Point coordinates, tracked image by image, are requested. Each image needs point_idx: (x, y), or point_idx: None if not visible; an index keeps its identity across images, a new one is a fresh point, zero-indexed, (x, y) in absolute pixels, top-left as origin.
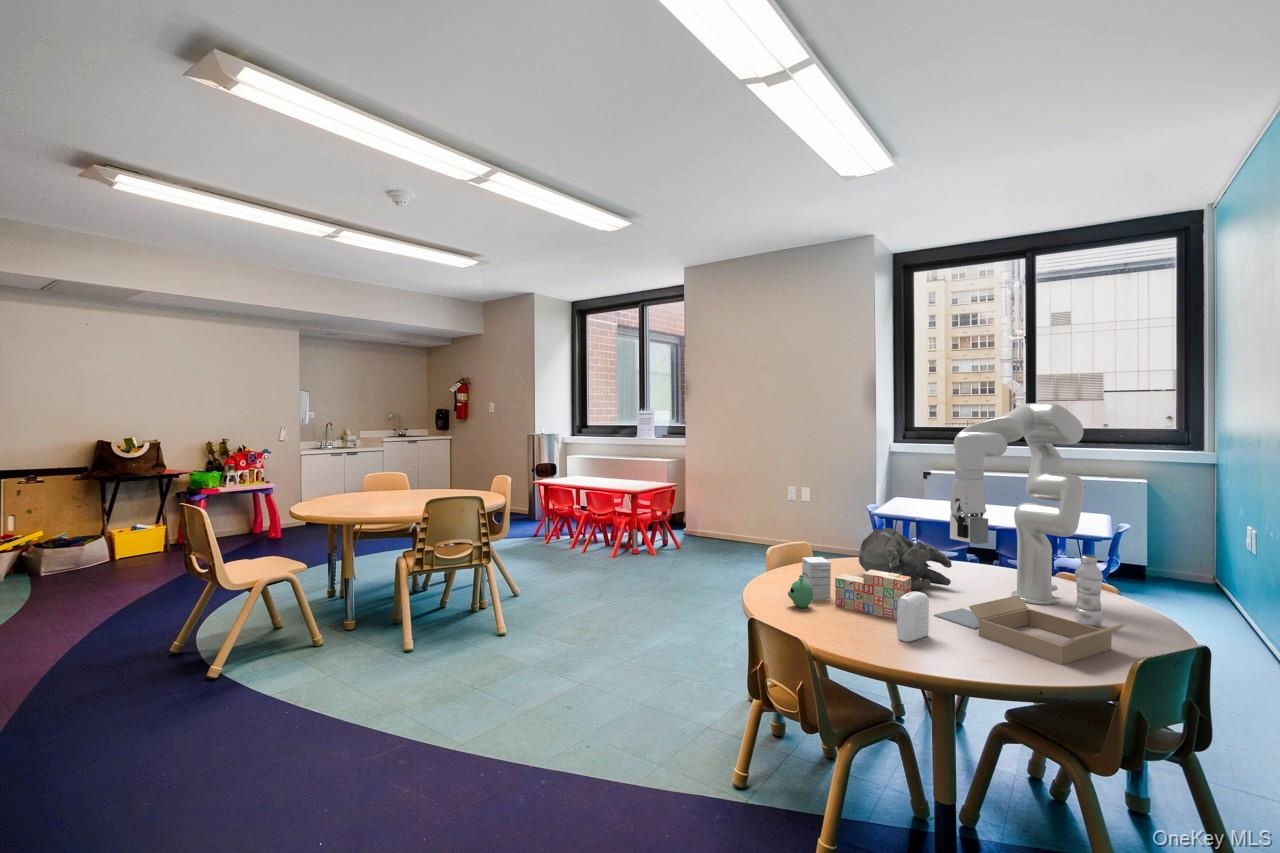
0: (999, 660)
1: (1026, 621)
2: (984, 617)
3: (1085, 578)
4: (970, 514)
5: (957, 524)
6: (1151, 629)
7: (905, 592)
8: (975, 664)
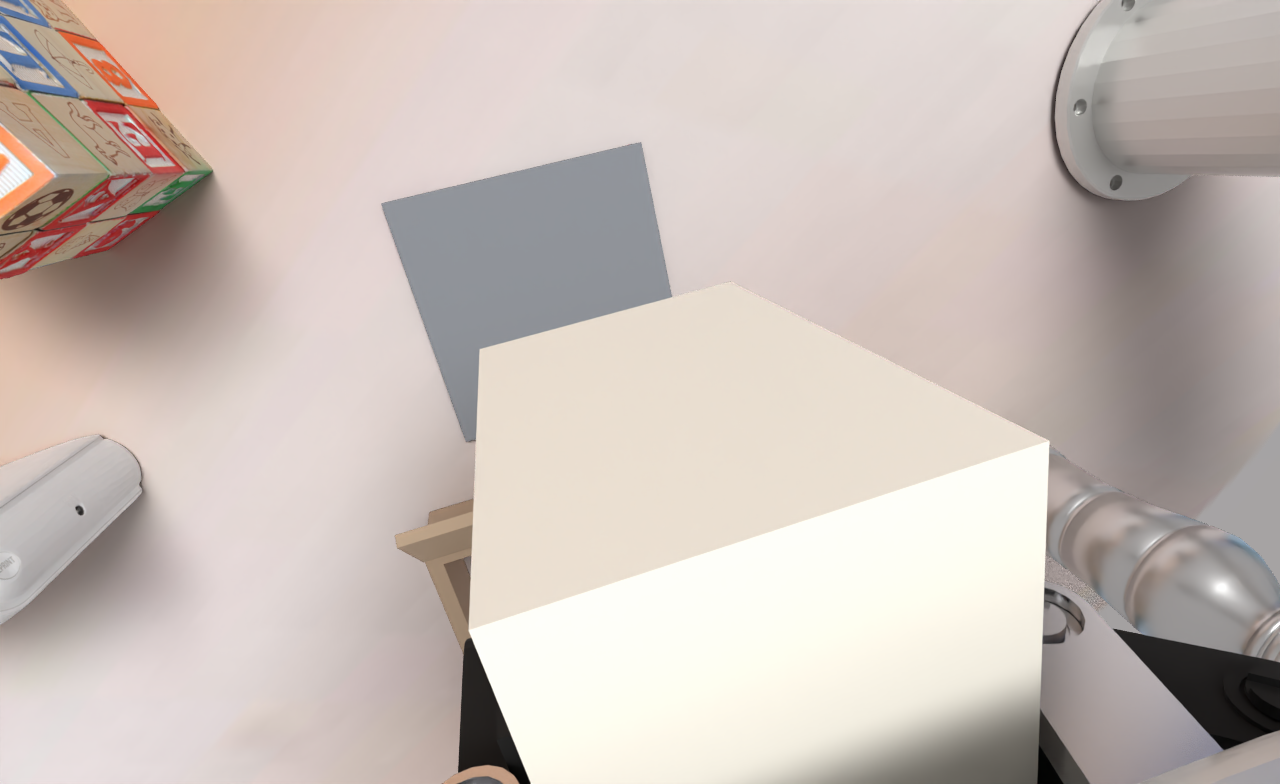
0: (324, 739)
1: None
2: (465, 549)
3: (1131, 614)
4: (1081, 781)
5: (499, 709)
6: None
7: (4, 265)
8: (190, 769)
